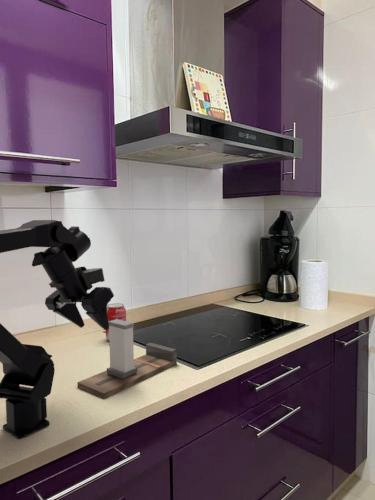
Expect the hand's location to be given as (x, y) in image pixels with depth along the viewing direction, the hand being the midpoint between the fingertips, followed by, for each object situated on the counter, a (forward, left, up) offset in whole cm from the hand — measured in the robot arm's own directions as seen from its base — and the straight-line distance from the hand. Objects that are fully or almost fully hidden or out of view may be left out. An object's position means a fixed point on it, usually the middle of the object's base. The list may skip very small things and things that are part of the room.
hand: (94, 327), depth 88 cm
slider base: (+11, 0, -15) cm, 19 cm away
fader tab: (+8, 0, -14) cm, 16 cm away
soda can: (+29, +26, -16) cm, 42 cm away
